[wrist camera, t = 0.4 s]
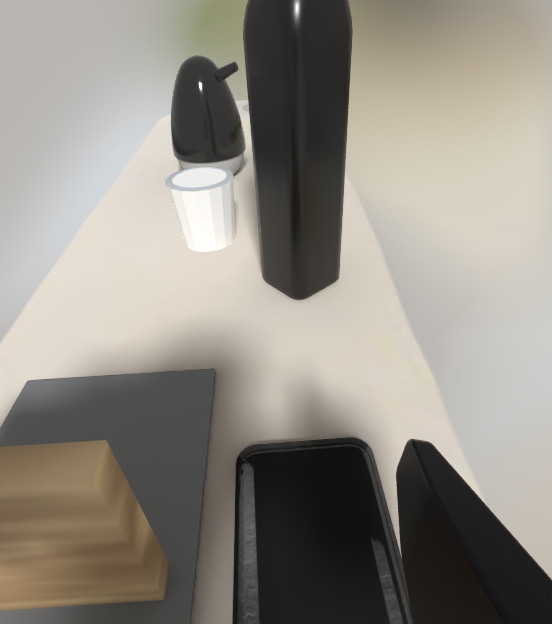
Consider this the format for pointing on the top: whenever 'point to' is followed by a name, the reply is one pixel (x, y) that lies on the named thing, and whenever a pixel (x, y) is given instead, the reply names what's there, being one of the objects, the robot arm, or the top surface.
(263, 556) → the phone
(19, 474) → the oak block
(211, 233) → the white short tapered cylinder
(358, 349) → the top surface
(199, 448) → the charcoal mat
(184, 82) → the black egg shape
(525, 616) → the robot arm
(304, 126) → the wine bottle
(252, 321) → the top surface
